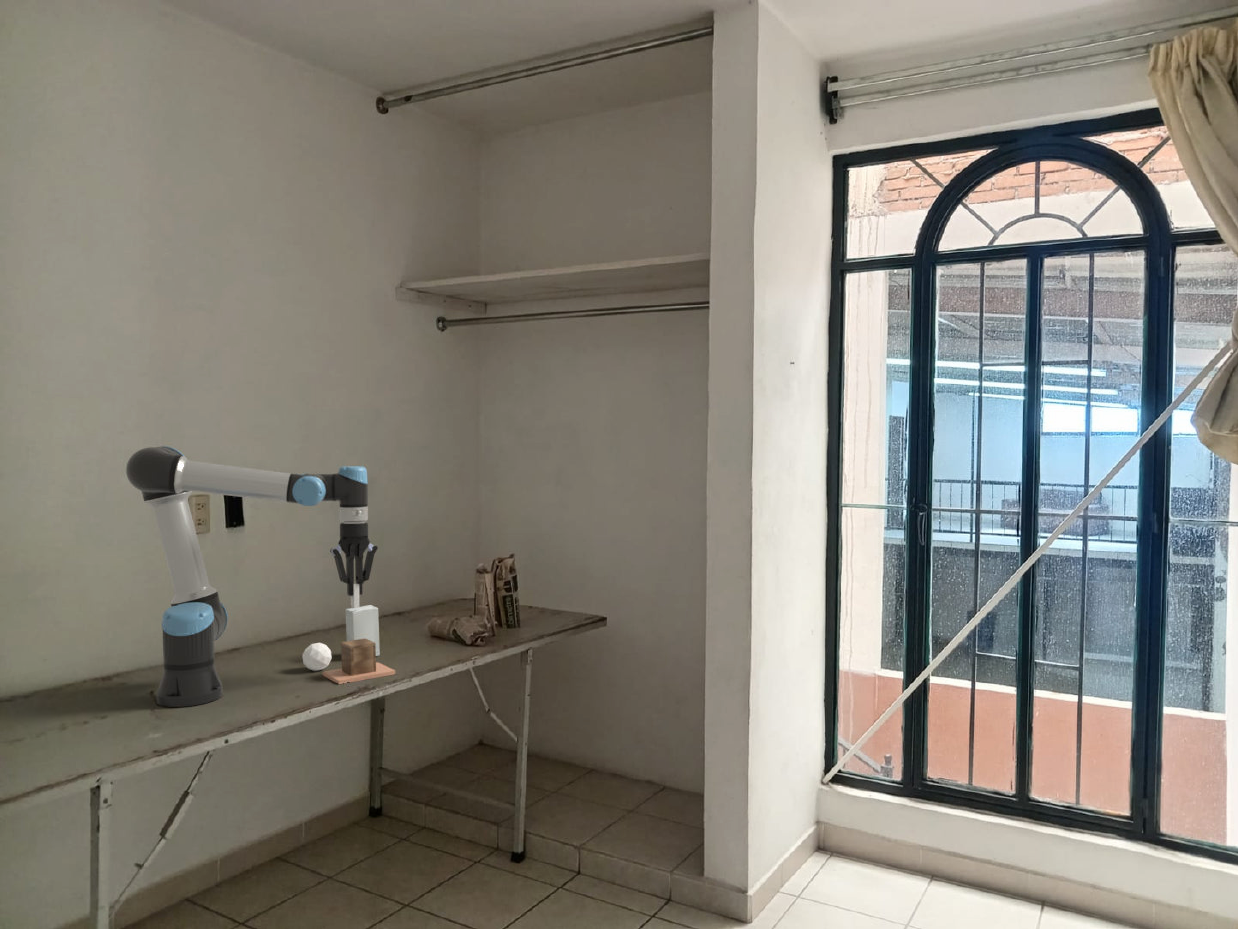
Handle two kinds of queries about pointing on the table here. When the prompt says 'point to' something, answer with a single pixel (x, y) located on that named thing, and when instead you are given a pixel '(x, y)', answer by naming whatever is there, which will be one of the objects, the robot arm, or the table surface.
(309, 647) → the ball
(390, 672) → the base plate
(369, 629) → the skincare box
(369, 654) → the cardboard carton
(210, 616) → the robot arm
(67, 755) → the table surface
